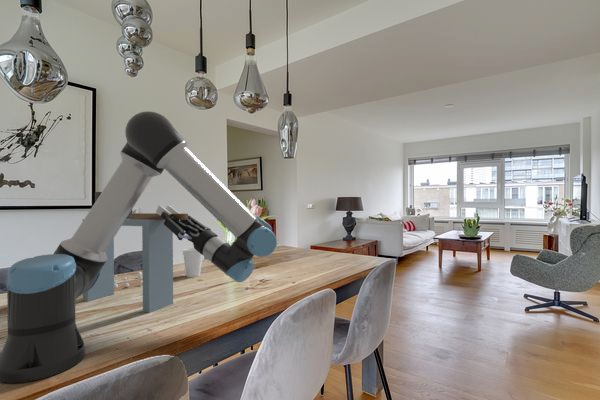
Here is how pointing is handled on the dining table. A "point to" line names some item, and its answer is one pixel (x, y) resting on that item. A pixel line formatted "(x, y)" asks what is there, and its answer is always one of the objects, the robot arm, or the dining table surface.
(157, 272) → the slate shelf
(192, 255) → the foam cup
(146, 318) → the dining table surface
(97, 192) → the domino
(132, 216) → the walnut bar
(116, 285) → the game piece set
